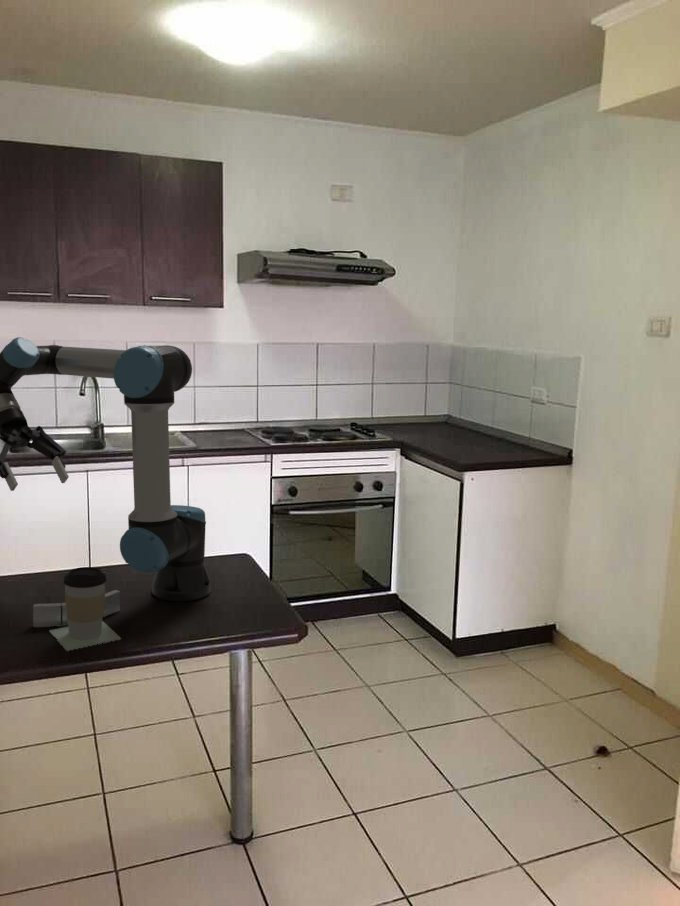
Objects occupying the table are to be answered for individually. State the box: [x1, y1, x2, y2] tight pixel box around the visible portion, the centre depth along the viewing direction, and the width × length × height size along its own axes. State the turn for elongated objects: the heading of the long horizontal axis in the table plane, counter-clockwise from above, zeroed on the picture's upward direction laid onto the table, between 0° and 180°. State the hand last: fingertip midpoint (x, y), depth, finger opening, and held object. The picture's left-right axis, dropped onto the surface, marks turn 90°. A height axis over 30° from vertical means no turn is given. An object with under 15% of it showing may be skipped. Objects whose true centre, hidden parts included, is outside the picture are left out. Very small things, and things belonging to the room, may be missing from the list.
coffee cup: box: [63, 566, 107, 640], centre depth 171 cm, size 9×9×15 cm
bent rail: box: [32, 589, 121, 628], centre depth 181 cm, size 20×4×5 cm, turn 128°
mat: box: [49, 620, 122, 652], centre depth 172 cm, size 12×12×1 cm
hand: (40, 483), depth 187 cm, fingers open, 13 cm apart
